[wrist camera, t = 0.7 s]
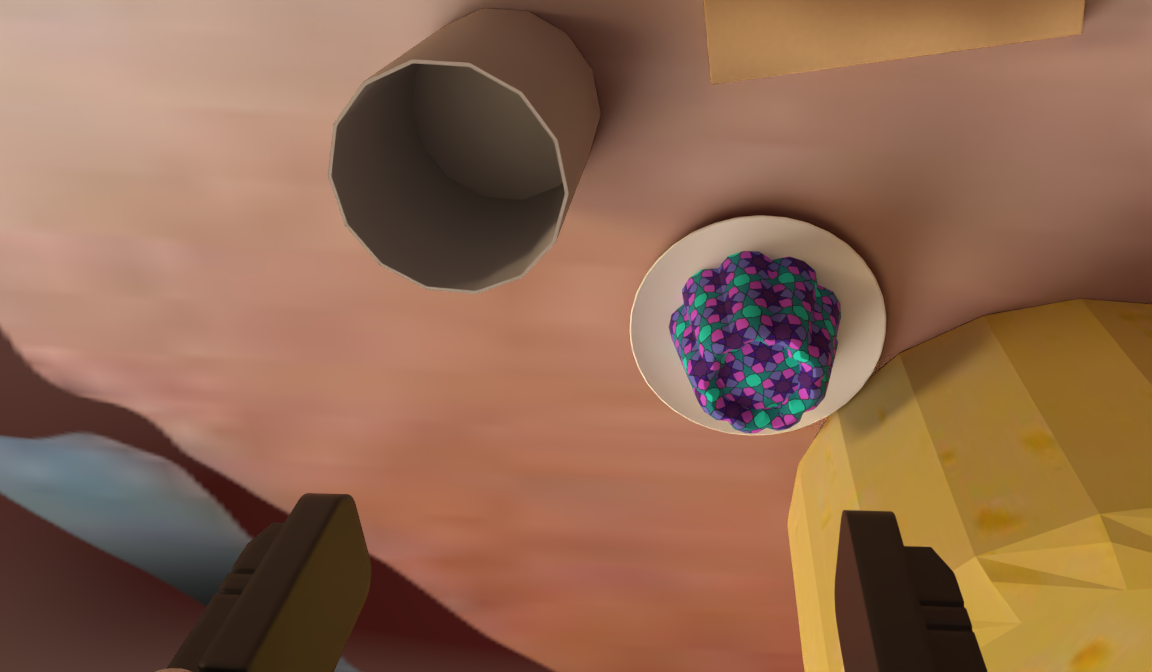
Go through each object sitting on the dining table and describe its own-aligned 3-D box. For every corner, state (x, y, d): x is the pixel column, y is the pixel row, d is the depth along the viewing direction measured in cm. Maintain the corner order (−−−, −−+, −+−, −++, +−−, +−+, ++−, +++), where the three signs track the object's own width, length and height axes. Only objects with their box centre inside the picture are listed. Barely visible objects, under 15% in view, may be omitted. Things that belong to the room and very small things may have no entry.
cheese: (1468, 371, 38) (1858, 641, 25) (1158, 729, 51) (1309, 1026, 38) (888, 241, 39) (979, 440, 26) (731, 628, 52) (739, 888, 39)
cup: (605, 14, 35) (571, 69, 27) (596, 202, 40) (566, 301, 31) (406, 3, 36) (313, 53, 28) (418, 188, 40) (340, 282, 32)
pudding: (705, 459, 46) (704, 525, 41) (584, 283, 42) (569, 336, 37) (924, 368, 42) (950, 431, 37) (814, 161, 37) (829, 204, 33)
